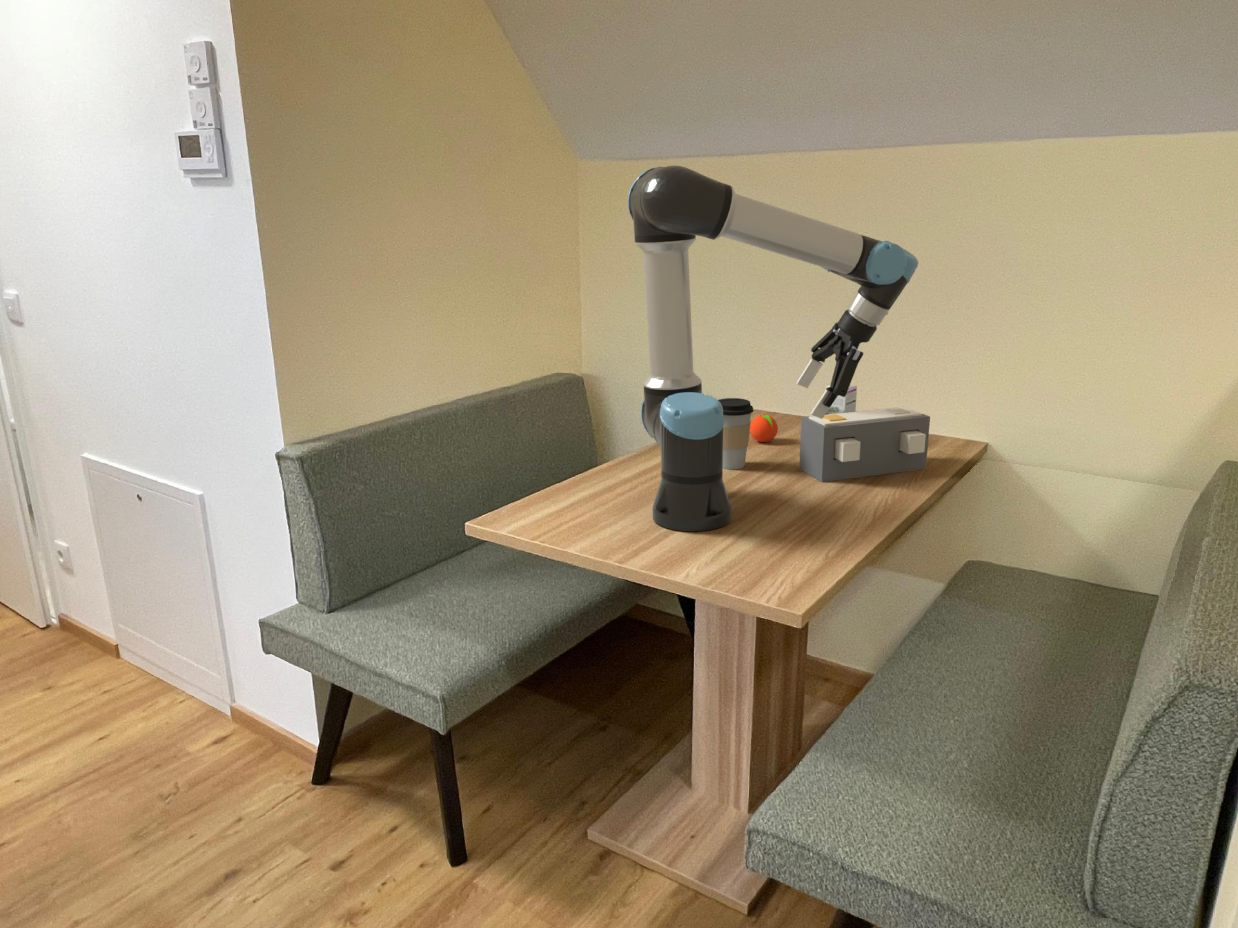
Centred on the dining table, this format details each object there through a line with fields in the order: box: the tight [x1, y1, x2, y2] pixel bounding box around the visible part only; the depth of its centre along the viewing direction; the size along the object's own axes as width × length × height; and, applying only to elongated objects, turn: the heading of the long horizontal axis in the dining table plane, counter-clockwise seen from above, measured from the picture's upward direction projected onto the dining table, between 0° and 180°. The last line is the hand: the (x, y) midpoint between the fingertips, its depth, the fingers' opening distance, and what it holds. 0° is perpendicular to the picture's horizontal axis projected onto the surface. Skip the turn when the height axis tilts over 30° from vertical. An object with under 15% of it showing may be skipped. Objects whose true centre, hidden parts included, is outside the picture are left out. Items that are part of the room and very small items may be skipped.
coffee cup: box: [717, 397, 754, 470], centre depth 200 cm, size 9×9×15 cm
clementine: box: [749, 413, 779, 443], centre depth 219 cm, size 8×7×7 cm
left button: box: [834, 437, 860, 462], centre depth 188 cm, size 6×4×4 cm
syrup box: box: [825, 384, 858, 415], centre depth 216 cm, size 6×6×14 cm
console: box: [798, 406, 931, 483], centre depth 196 cm, size 10×26×13 cm, turn 107°
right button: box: [899, 430, 926, 454], centre depth 193 cm, size 6×4×4 cm
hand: (808, 400), depth 193 cm, fingers open, 13 cm apart
